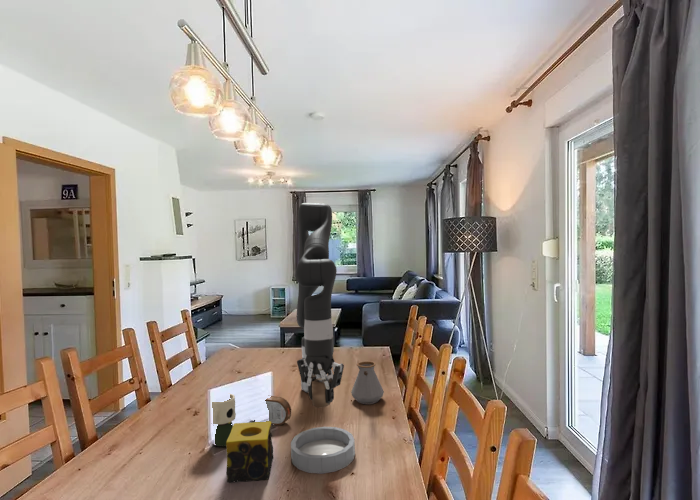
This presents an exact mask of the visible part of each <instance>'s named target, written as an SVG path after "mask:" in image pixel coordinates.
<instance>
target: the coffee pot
mask: <svg viewBox="0 0 700 500" xmlns="http://www.w3.org/2000/svg"><path fill="white" fill-rule="evenodd" d="M356 366H357V368H358V369H359V371H358V373H357V376H356V378H355V381H354V383H353V386H352V390H351V391H350V393H351V397H352V398H354V400H356V402H357V403H359V404H362V405H373V404H376V403H378V402H379V400H381V399H382V398H383V396H384V394H385V392H384V388H383V386H382V384H381V382H380V379H379V378H378V375H377V373H376V371H375V366H376V362H374V361H369V360H368V361H367V360H366V361H360V362H357V363H356Z"/></svg>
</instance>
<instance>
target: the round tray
mask: <svg viewBox="0 0 700 500" xmlns="http://www.w3.org/2000/svg"><path fill="white" fill-rule="evenodd" d="M355 446H356V443H355V438H354V435H353V434H352V433H351V432H349V431H348V430H347V429H344V428H341V427H336V426H319V427H317V426H316V427H312V428H309V429H306V430H303V431H301V432H299V433H298V434H296V435H294V437H293V439H292V440H291V441H290V453H291V457H290V458H291V463H292V465H293V466H294V467H296V468H297V469H298V470H299V471H303V472H305V473H309V474H328V473H333V472H337V471H339V470H342V469H344V468H347V467H348V465H350V464H351V463H352V462H353V461H354V459H355V455H356V447H355Z"/></svg>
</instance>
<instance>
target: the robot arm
mask: <svg viewBox="0 0 700 500" xmlns="http://www.w3.org/2000/svg"><path fill="white" fill-rule="evenodd" d="M297 224H298V225H297V226H298V263H297V265H296V268H295V279H296V281H297V284H298V287H297V289H298V292H297V294H298V295H297V303H296V304H297V305H296V306H297V307H296V322H297V326H298V327H300V328H303V333H304V334H303V335H304V336H302V338H301V357H302V358H300V359H298V360H297V361H296V364H297V368H298V372H299V375H300V389H301V390H302V391H303V392H305V393H308V398H309V400H310V401H312V380H314V379H318V378H322V380H323V381H324V383H325V387H326V389H325V397H326V403H328V404H329V403H330V404H331V403H332V402H333V400H334V399H335V393H334V392H335V390H334V389H335V388H336V387H339V386H340V385H341V382H342V377H343V373H344V367H345V364H344V363H338V362H335V358H334V351H335V350H334V348H335V347H334V328H333V327H334V326H333V320H332V294H333V288H334V285H335V281H336V277H337V273H338V272H337V270H338V269H337V265H336V264H335V262H334V261H333V260H332V259H330V250H329V244H330V243H329V242H330V238H331V233H332V232H331V231H332V225H333V210H332V207H331V205H329V204H327V203H318V202H316V203H315V202H303V203H300V205H299V207H298V213H297ZM309 232H312V233H309ZM319 287H323V289H321V290H322V291H321V292H319V293H316V294H314V293H315V292H316V291H317V290H318V288H319Z"/></svg>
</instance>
